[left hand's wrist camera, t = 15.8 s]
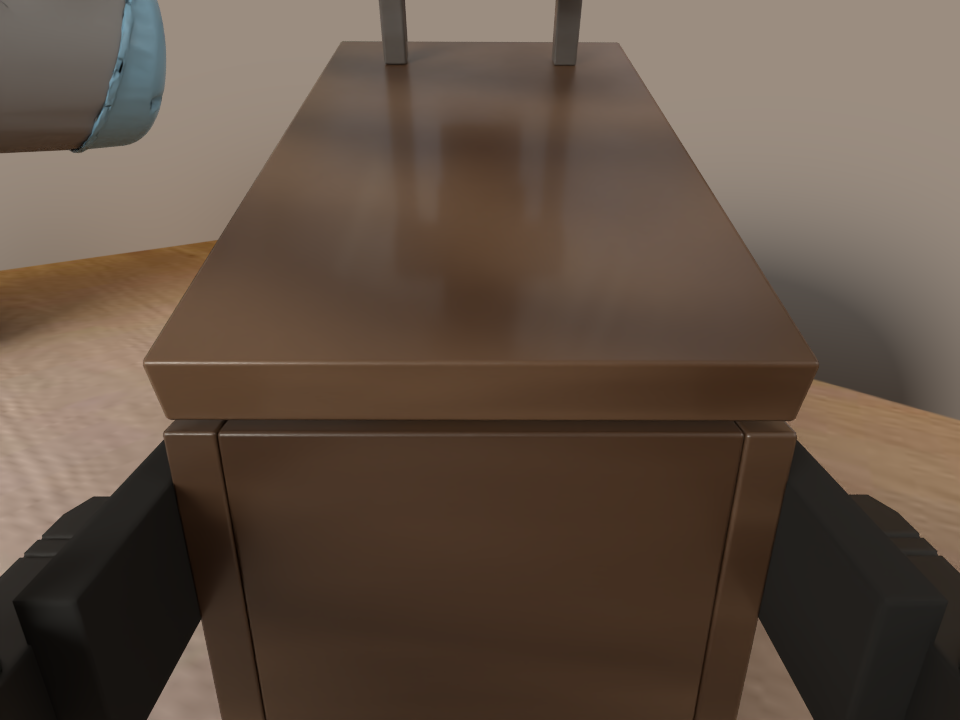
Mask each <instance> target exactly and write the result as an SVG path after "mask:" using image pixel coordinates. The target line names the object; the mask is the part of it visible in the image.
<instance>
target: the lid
mask: <svg viewBox="0 0 960 720" xmlns="http://www.w3.org/2000/svg"><path fill="white" fill-rule="evenodd" d="M581 7H582V0H556V6H555V20H554V34H553V42H407V27H406V11H405V0H379V8H380V19H381V31H382V42H359V41H343V42H341V43H340V45H339V46H338V48H337V50H336V51H335V53H334V54H333V56H332V58H331V59H330V61H329V63H328V64H327V66H326V67H325V69H324V70H323V72H322V74H321V75H320V77H319V78H318V80H317V82H316V83H315V85H314V87H313V88H312V90H311V91H310V93H309V95H308V96H307V98H306V100H305V101H304V103H303V104H302V106H301V107H300V109H299V111H298V112H297V114H296V116H295V117H294V119H293V120H292V122H291V124H290V125H289V127H288V128H287V130H286V132H285V133H284V135H283V136H282V138H281V140H280V141H279V143H278V144H277V146H276V148H275V149H274V151H273V152H272V154H271V156H270V157H269V159H268V160H267V162H266V164H265V165H264V167H263V169H262V170H261V172H260V173H259V175H258V177H257V178H256V180H255V181H254V183H253V185H252V186H251V188H250V189H249V191H248V193H247V194H246V196H245V197H244V199H243V201H242V202H241V204H240V206H239V207H238V209H237V210H236V212H235V214H234V215H233V217H232V218H231V220H230V222H229V223H228V225H227V227H226V228H225V230H224V231H223V233H222V235H221V236H220V238H219V239H218V241H217V243H216V244H215V246H214V247H213V249H212V251H211V252H210V254H209V255H208V257H207V259H206V260H205V262H204V263H203V265H202V267H201V268H200V270H199V271H198V273H197V275H196V276H195V278H194V280H193V281H192V283H191V284H190V286H189V288H188V289H187V291H186V292H185V294H184V296H183V297H182V299H181V300H180V302H179V304H178V305H177V307H176V308H175V310H174V312H173V313H172V315H171V316H170V318H169V320H168V321H167V323H166V325H165V326H164V328H163V329H162V331H161V333H160V334H159V336H158V337H157V339H156V341H155V342H154V344H153V345H152V347H151V349H150V350H149V352H148V353H147V355H146V357H145V358H144V360H143V366H144V369H145V371H146V373H147V375H148V377H149V380H150V382H151V384H152V386H153V389H154V391H155V393H156V395H157V398H158V400H159V402H160V404H161V407H162V409H163V411H164V413H165V416H166V417H167V418H168V419H170V420H540V421H792V420H794V419H795V418H796V416H797V414H798V411H799V409H800V407H801V405H802V403H803V401H804V398H805V396H806V394H807V392H808V390H809V388H810V385H811V383H812V381H813V379H814V377H815V375H816V372H817V370H818V368H819V361H818V360H817V358H816V357H815V355H814V353H813V352H812V350H811V349H810V347H809V345H808V344H807V342H806V341H805V339H804V337H803V336H802V334H801V333H800V331H799V329H798V328H797V326H796V325H795V323H794V322H793V320H792V318H791V317H790V315H789V314H788V312H787V310H786V309H785V307H784V306H783V304H782V302H781V301H780V299H779V298H778V296H777V294H776V293H775V291H774V290H773V288H772V287H771V285H770V283H769V282H768V280H767V279H766V277H765V275H764V274H763V272H762V271H761V269H760V267H759V266H758V264H757V263H756V261H755V259H754V258H753V256H752V255H751V253H750V251H749V250H748V248H747V247H746V245H745V244H744V242H743V240H742V239H741V237H740V236H739V234H738V232H737V231H736V229H735V228H734V226H733V224H732V223H731V221H730V220H729V218H728V216H727V215H726V213H725V212H724V210H723V208H722V207H721V205H720V204H719V202H718V201H717V199H716V197H715V196H714V194H713V193H712V191H711V189H710V188H709V186H708V185H707V183H706V181H705V180H704V178H703V177H702V175H701V173H700V172H699V170H698V169H697V167H696V165H695V164H694V162H693V161H692V159H691V158H690V156H689V154H688V153H687V151H686V150H685V148H684V146H683V145H682V143H681V142H680V140H679V138H678V137H677V135H676V134H675V132H674V130H673V129H672V127H671V126H670V124H669V122H668V121H667V119H666V118H665V116H664V114H663V113H662V111H661V110H660V108H659V107H658V105H657V103H656V102H655V100H654V99H653V97H652V96H651V94H650V92H649V91H648V89H647V87H646V86H645V84H644V83H643V81H642V79H641V78H640V76H639V75H638V73H637V71H636V70H635V68H634V67H633V65H632V64H631V62H630V60H629V59H628V57H627V56H626V54H625V52H624V51H623V49H622V48H621V46H620V44H619V43H592V42H591V43H590V42H589V43H588V42H587V43H586V42H578V39H579V28H580V18H581Z"/></svg>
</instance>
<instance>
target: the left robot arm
mask: <svg viewBox="0 0 960 720" xmlns="http://www.w3.org/2000/svg"><path fill="white" fill-rule="evenodd" d="M758 617H759V619H760V621H761V623H762V625H763V626H764V628H765V630H766V632H767V634H768V636H769V638H770V639H771V641H772V643H773V645H774V647H775V649H776V650H777V652H778V654H779V656H780V658H781V660H782V662H783V663H784V665H785V667H786V669H787V671H788V673H789V675H790V676H791V678H792V680H793V682H794V684H795V686H796V687H797V689H798V691H799V693H800V695H801V697H802V699H803V700H804V702H805V704H806V706H807V708H808V710H809V712H810V713H811V715H812V717H813V719H814V720H960V573H959V572H958V571H957V570H956V569H955V568H954V567H953V566H952V565H951V564H950V563H949V562H948V561H947V560H946V559H945V558H944V557H943V556H938V555H937V550H936V549H935V548H933V547H932V546H931V545H930V544H929V543H928V542H927V541H926V540H925V539H924V538H920V536H919V533H918V532H917V531H916V530H915V529H914V528H913V527H912V526H911V525H910V524H909V523H908V522H907V521H906V520H905V519H904V518H903V517H902V516H901V515H900V514H899V513H898V512H896V511H894V510H893V509H891V508H889V507H888V506H886V505H884V504H883V503H881V502H879V501H877V500H876V499H874V498H872V497H871V496H869V495H848V494H847V493H846V492H845V490H844V489H843V488H842V487H841V486H840V485H839V484H838V483H837V482H836V481H835V480H834V479H833V478H832V477H831V476H830V475H829V473H828V472H827V471H826V470H825V469H824V468H823V467H822V466H821V465H820V464H819V463H818V462H817V461H816V460H815V459H814V457H813V456H812V455H811V454H810V453H809V452H808V451H807V450H806V449H805V448H804V447H803V446H802V445H801V444H800V443H799V442H798V440H796V445H795V449H794V454H793V459H792V463H791V468H790V472H789V477H788V481H787V485H786V490H785V495H784V499H783V504H782V509H781V513H780V518H779V523H778V528H777V532H776V537H775V542H774V546H773V551H772V556H771V561H770V565H769V570H768V575H767V579H766V584H765V588H764V593H763V598H762V602H761V607H760V612H759V616H758ZM200 620H201V615H200V611H199V606H198V601H197V596H196V592H195V587H194V582H193V577H192V572H191V567H190V563H189V558H188V553H187V548H186V543H185V538H184V534H183V529H182V524H181V519H180V514H179V509H178V505H177V500H176V495H175V490H174V485H173V480H172V476H171V471H170V466H169V461H168V456H167V451H166V447H165V442H164V440H163V441H162V442H161V443H160V444H159V445H158V446H157V447H156V449H155V450H154V451H153V452H152V453H151V454H150V455H149V456H148V457H147V458H146V459H145V460H144V461H143V462H142V463H141V465H140V466H139V467H138V468H137V469H136V470H135V471H134V472H133V473H132V474H131V475H130V476H129V477H128V478H127V479H126V480H125V482H124V483H123V484H122V485H121V486H120V487H119V488H118V489H117V490H116V491H115V492H114V493H113V494H112V495H111V496H110V497H92V498H90V499H89V500H87V501H85V502H84V503H82V504H80V505H79V506H77V507H75V508H74V509H72V510H70V511H69V512H67V513H65V514H64V515H63V516H62V517H60V518H59V519H58V520H57V521H56V522H55V523H54V524H53V525H52V526H51V527H50V528H49V529H48V530H47V531H46V532H45V533H44V534H43V535H42V539H41V540H37V541H36V542H35V543H34V544H33V545H32V546H31V547H30V548H29V549H28V550H27V551H26V552H25V553H24V557H23V558H19V559H18V560H17V561H16V562H15V563H14V564H13V565H12V566H11V567H10V568H9V569H8V570H7V571H6V572H5V573H4V574H3V575H2V576H1V577H0V720H147V718H148V716H149V714H150V713H151V711H152V709H153V707H154V705H155V703H156V702H157V700H158V698H159V696H160V694H161V692H162V690H163V689H164V687H165V685H166V683H167V681H168V679H169V677H170V676H171V674H172V672H173V670H174V668H175V666H176V664H177V663H178V661H179V659H180V657H181V655H182V653H183V652H184V650H185V648H186V646H187V644H188V642H189V640H190V639H191V637H192V635H193V633H194V631H195V629H196V627H197V626H198V624H199V622H200Z"/></svg>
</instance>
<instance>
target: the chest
mask: <svg viewBox="0 0 960 720" xmlns="http://www.w3.org/2000/svg"><path fill="white" fill-rule="evenodd" d="M163 437H164V442H165V447H166V451H167V456H168V461H169V466H170V471H171V476H172V480H173V485H174V490H175V495H176V500H177V505H178V509H179V514H180V519H181V524H182V529H183V534H184V538H185V543H186V548H187V553H188V558H189V563H190V567H191V572H192V577H193V582H194V587H195V592H196V596H197V601H198V606H199V611H200V615H201V621H202V625H203V630H204V635H205V640H206V645H207V650H208V654H209V659H210V664H211V669H212V674H213V679H214V683H215V688H216V693H217V698H218V703H219V708H220V712H221V717H222V720H736V718H737V714H738V709H739V704H740V700H741V695H742V690H743V686H744V681H745V677H746V672H747V667H748V663H749V658H750V653H751V649H752V644H753V639H754V635H755V630H756V626H757V621H758V616H759V612H760V607H761V602H762V598H763V593H764V588H765V584H766V579H767V575H768V570H769V565H770V561H771V556H772V551H773V546H774V542H775V537H776V532H777V528H778V523H779V518H780V513H781V509H782V504H783V499H784V495H785V490H786V485H787V481H788V477H789V472H790V468H791V463H792V459H793V454H794V449H795V445H796V440H797V435H796V432H795V431H794V430H793V429H792V428H791V427H790V426H789V425H788V424H787V423H786V422H785V421H540V420H175V421H174V422H173V423H172V424H171V425H170V426H169V427H168V428H167V429H166V430H165V431H164V433H163Z"/></svg>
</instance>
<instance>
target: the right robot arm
mask: <svg viewBox="0 0 960 720" xmlns="http://www.w3.org/2000/svg"><path fill="white" fill-rule="evenodd" d="M165 75H166V46H165V35H164V28H163V22H162V17H161V12H160V8H159V5H158V2H157V0H0V153H15V152H36V151H56V150H70V151H72V152H73V153H81V152H84V151H85V150H87V149H94V148H104V147H114V146H124V145H128V144H132V143H134V142H136V141H138V140H140V139H141V138H142V137H143V136H144V135H146V134H147V132H148V131H149V130H150V128H151V127H152V125H153V123H154V121H155V119H156V117H157V115H158V112H159V109H160V105H161V101H162V95H163V91H164V85H165Z"/></svg>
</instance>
